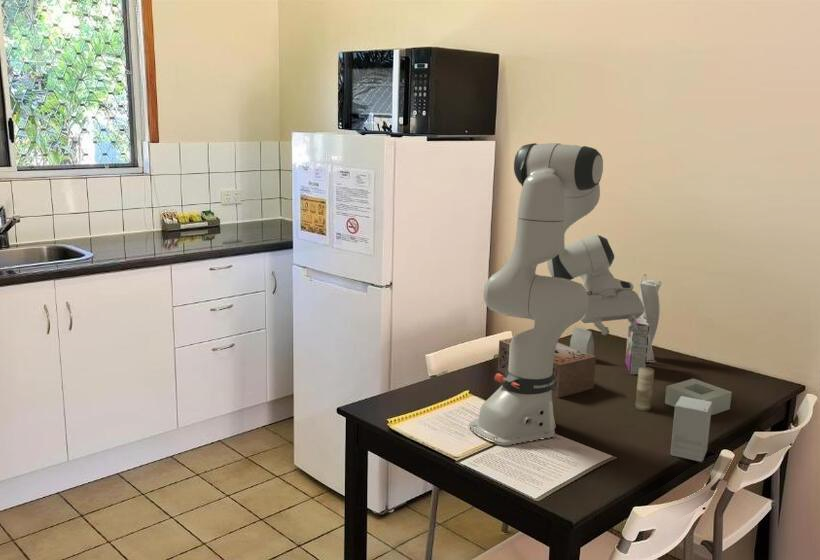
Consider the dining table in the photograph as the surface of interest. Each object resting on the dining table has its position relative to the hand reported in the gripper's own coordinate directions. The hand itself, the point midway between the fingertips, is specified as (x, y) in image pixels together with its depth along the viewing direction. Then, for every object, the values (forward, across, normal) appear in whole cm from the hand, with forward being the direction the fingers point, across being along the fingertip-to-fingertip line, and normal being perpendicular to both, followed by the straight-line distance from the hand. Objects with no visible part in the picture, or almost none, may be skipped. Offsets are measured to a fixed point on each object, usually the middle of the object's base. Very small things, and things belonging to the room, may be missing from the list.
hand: (620, 332), depth 208 cm
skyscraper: (-2, +26, +29) cm, 39 cm away
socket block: (+24, +15, +1) cm, 28 cm away
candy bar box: (+3, +17, +23) cm, 29 cm away
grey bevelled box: (-7, +7, +33) cm, 34 cm away
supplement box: (+40, -8, -15) cm, 43 cm away
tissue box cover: (+2, -15, +23) cm, 28 cm away
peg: (+22, 0, +3) cm, 22 cm away
